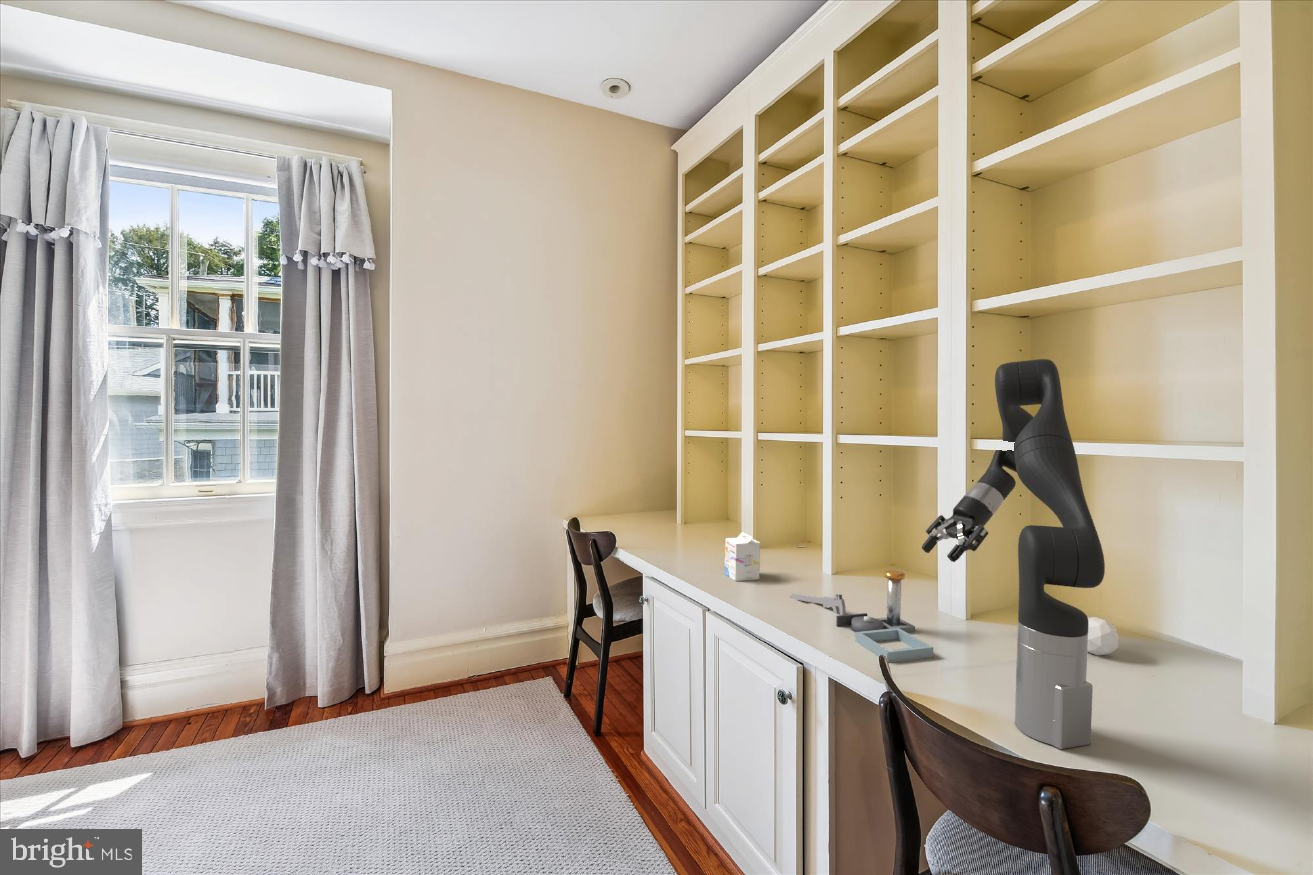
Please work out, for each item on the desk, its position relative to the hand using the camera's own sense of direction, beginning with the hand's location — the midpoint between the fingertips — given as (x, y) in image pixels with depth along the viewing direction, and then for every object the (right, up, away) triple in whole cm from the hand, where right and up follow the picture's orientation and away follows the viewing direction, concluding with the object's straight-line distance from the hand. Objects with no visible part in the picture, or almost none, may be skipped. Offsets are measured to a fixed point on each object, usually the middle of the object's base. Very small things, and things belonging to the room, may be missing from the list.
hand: (937, 554), depth 136 cm
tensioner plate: (-15, -18, -3) cm, 23 cm away
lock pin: (-11, -17, -2) cm, 20 cm away
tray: (-17, -18, -14) cm, 28 cm away
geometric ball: (+28, -19, -13) cm, 36 cm away
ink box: (-40, -16, +43) cm, 61 cm away
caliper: (-25, -17, +15) cm, 34 cm away
